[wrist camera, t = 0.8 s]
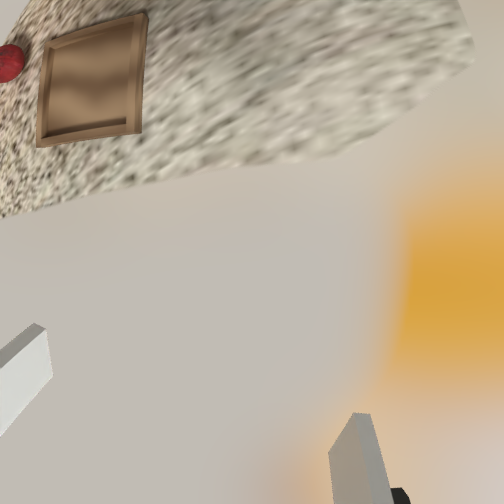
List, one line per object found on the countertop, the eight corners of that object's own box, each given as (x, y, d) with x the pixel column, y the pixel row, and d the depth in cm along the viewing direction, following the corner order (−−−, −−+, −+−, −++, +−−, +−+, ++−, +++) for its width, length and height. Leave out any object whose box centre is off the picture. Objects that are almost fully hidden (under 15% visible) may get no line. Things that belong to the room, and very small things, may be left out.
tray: (53, 46, 30) (45, 42, 28) (148, 18, 28) (142, 12, 27) (45, 147, 34) (35, 147, 32) (141, 133, 33) (134, 131, 31)
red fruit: (35, 43, 29) (0, 31, 22) (34, 75, 31) (-3, 67, 23) (10, 60, 30) (-25, 52, 22) (9, 91, 31) (-28, 86, 24)
